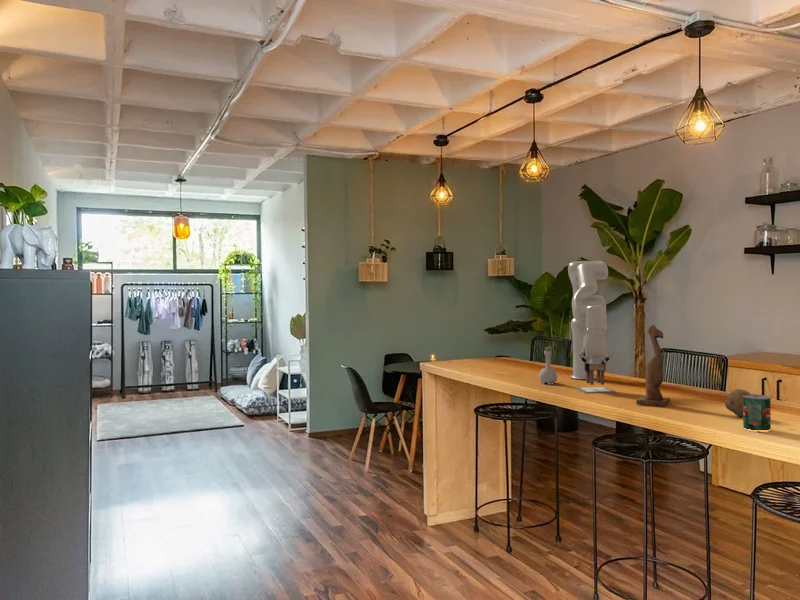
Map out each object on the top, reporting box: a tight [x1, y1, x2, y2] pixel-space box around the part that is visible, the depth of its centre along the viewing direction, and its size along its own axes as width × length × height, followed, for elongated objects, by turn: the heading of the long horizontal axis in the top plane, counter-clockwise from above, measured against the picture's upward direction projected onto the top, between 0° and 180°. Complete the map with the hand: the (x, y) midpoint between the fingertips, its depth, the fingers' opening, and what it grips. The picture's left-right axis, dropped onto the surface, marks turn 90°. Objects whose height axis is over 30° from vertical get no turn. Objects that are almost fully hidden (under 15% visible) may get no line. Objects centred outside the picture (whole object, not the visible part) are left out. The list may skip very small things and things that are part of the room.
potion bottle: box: [538, 346, 558, 385], centre depth 310 cm, size 9×9×18 cm
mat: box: [574, 386, 617, 394], centre depth 288 cm, size 14×14×1 cm
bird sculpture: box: [635, 324, 672, 408], centre depth 254 cm, size 11×12×32 cm
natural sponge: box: [724, 388, 751, 417], centre depth 228 cm, size 9×9×10 cm
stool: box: [585, 362, 606, 386], centre depth 288 cm, size 6×6×9 cm
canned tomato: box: [742, 393, 772, 430], centre depth 208 cm, size 8×8×11 cm
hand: (595, 371), depth 288 cm, fingers closed on stool, 6 cm apart
